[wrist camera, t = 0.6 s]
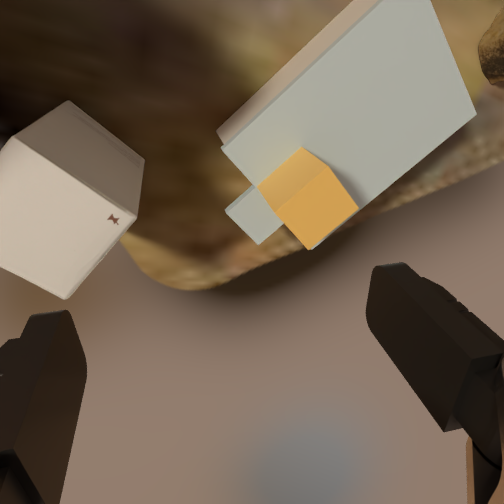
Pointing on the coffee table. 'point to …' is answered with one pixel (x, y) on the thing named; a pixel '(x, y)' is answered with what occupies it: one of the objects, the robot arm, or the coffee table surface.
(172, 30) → the coffee table surface
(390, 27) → the lid
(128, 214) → the supplement box
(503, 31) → the rock
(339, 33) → the tub
